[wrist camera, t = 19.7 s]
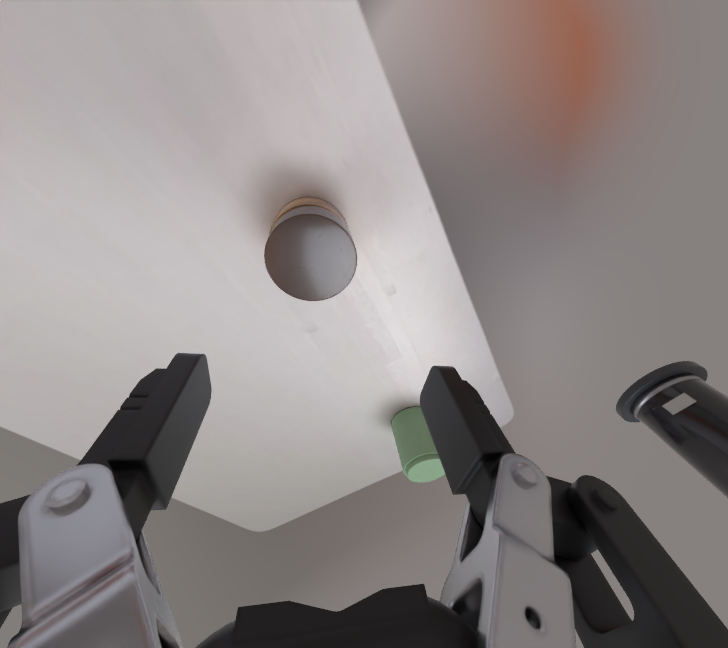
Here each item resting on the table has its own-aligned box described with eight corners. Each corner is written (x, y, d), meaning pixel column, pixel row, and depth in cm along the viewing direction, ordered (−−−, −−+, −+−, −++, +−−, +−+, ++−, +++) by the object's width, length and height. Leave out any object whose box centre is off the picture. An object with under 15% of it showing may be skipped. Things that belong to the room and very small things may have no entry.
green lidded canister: (436, 406, 37) (458, 456, 31) (424, 432, 40) (442, 482, 34) (396, 406, 36) (412, 458, 30) (387, 433, 39) (399, 485, 33)
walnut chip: (359, 212, 19) (364, 221, 17) (346, 289, 23) (350, 304, 21) (269, 198, 18) (263, 206, 16) (269, 281, 21) (264, 297, 19)
